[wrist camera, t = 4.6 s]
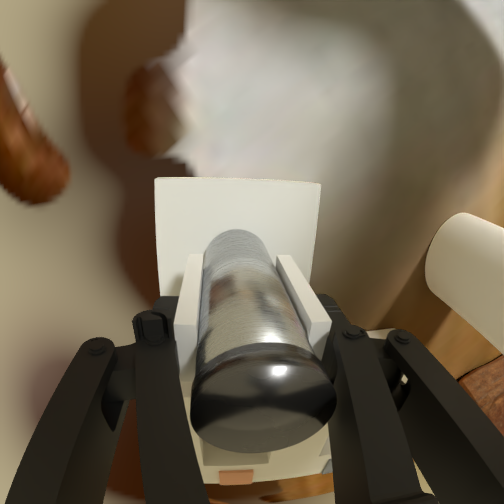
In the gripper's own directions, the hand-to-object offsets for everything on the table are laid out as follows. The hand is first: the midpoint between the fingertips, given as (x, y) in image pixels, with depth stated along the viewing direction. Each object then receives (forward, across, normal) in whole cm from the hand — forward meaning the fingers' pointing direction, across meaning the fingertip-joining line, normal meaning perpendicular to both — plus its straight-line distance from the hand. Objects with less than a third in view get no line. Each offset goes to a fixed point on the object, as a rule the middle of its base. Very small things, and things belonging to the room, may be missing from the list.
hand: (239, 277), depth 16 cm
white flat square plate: (+4, 0, 0) cm, 4 cm away
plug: (+3, 0, 0) cm, 3 cm away
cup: (+4, +20, 0) cm, 20 cm away
